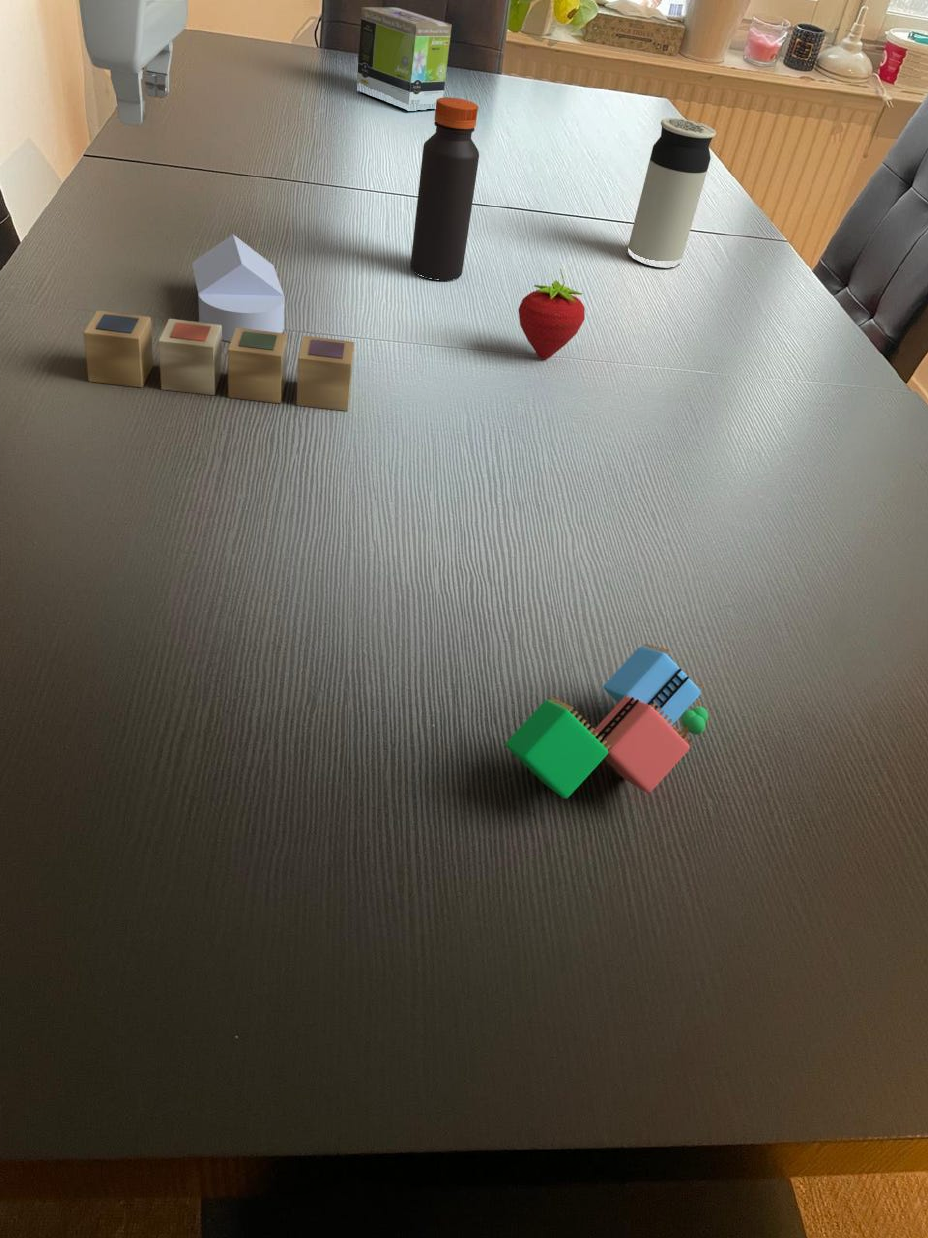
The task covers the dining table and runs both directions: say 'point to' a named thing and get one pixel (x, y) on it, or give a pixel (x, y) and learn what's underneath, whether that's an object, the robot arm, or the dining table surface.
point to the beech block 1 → (118, 349)
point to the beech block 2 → (257, 365)
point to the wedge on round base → (238, 289)
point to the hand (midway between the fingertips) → (145, 108)
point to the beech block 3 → (324, 373)
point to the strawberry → (551, 318)
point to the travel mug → (671, 190)
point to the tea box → (403, 54)
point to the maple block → (190, 356)
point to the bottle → (446, 191)
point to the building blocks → (616, 728)
